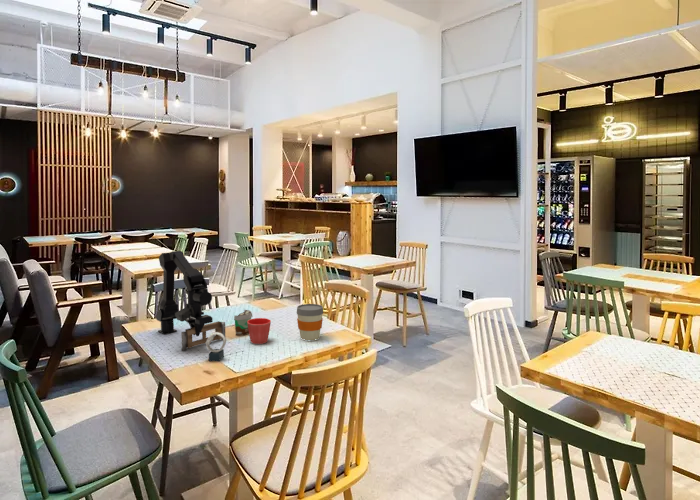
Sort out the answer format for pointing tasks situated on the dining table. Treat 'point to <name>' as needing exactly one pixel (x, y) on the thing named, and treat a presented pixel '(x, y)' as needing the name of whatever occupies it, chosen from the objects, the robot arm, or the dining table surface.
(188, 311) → the robot arm
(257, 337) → the flower pot
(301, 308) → the reusable coffee cup
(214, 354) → the ring on dark base
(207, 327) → the wooden frame
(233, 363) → the dining table surface
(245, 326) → the food container
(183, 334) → the grey piece
